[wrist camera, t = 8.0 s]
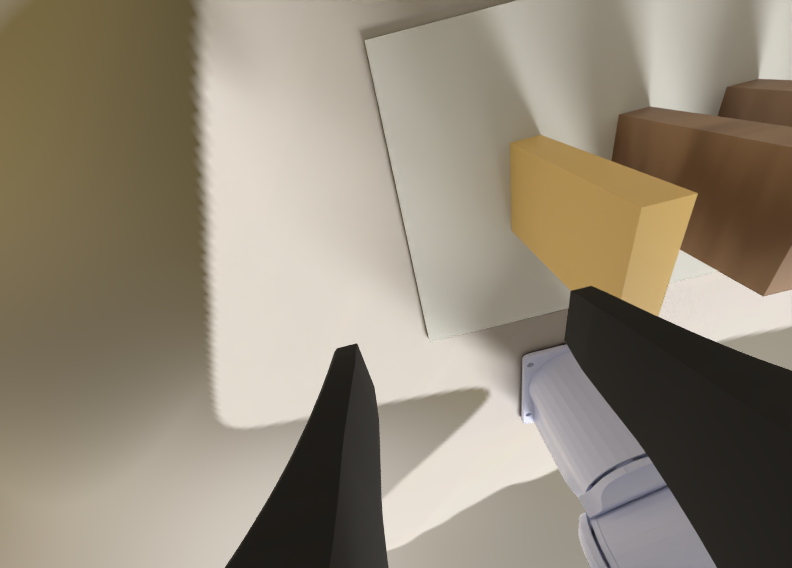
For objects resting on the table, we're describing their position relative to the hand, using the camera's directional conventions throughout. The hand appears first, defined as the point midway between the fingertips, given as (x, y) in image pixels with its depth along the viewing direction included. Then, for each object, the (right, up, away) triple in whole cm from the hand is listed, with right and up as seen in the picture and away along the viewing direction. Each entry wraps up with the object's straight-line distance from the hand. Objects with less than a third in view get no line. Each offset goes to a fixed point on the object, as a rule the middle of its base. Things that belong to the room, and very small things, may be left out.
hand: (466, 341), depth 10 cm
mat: (+14, +9, +9) cm, 19 cm away
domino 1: (+5, +7, +8) cm, 12 cm away
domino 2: (+10, +8, +8) cm, 16 cm away
